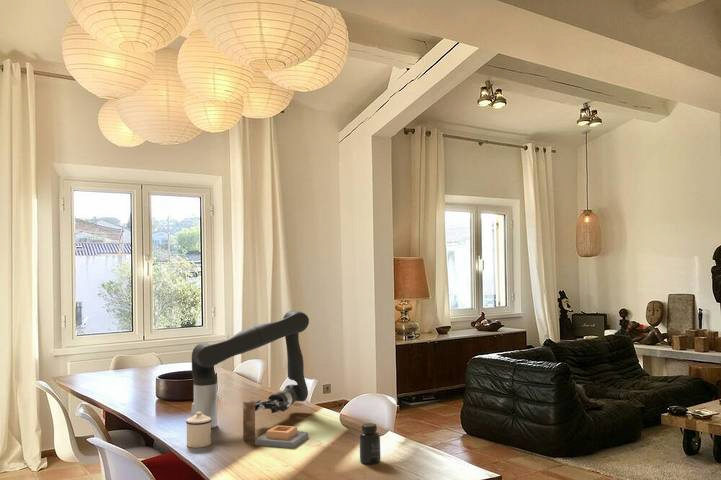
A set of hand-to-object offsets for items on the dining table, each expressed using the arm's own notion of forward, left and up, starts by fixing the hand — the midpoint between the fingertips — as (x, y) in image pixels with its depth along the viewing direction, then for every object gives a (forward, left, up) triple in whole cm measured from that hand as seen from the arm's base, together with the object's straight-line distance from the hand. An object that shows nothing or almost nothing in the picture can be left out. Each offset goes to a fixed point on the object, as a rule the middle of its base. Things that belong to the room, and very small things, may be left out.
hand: (262, 409), depth 241 cm
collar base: (+13, -10, -8) cm, 18 cm away
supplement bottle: (+51, -24, -9) cm, 57 cm away
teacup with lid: (-16, -21, -9) cm, 28 cm away
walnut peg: (0, -11, -8) cm, 14 cm away
